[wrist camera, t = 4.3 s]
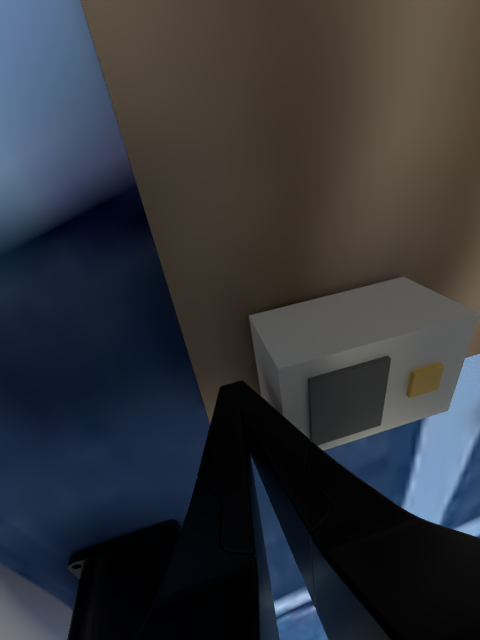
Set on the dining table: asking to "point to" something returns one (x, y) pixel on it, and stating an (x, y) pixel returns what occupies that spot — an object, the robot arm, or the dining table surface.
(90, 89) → the dining table surface
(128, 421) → the dining table surface
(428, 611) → the robot arm
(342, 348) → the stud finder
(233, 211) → the board
